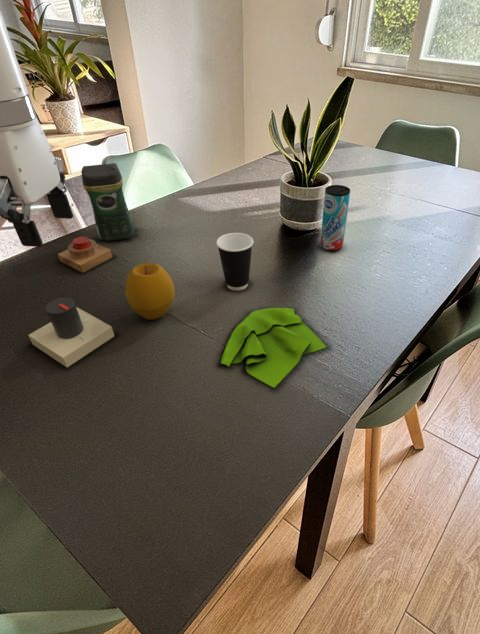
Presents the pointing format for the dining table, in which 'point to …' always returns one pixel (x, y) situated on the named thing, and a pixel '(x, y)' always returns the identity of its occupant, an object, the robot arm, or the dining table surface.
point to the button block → (85, 256)
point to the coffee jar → (108, 201)
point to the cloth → (270, 344)
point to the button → (81, 243)
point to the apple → (149, 290)
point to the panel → (72, 339)
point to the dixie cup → (235, 259)
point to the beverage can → (334, 217)
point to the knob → (64, 318)
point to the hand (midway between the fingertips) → (49, 230)
